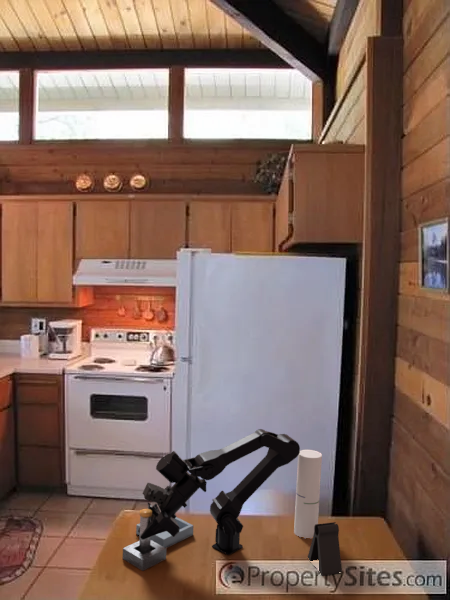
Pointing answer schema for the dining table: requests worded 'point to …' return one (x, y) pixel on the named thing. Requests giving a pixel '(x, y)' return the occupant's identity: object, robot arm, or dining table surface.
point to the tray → (167, 539)
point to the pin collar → (144, 555)
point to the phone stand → (326, 548)
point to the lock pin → (144, 522)
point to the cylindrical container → (307, 492)
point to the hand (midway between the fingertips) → (140, 535)
